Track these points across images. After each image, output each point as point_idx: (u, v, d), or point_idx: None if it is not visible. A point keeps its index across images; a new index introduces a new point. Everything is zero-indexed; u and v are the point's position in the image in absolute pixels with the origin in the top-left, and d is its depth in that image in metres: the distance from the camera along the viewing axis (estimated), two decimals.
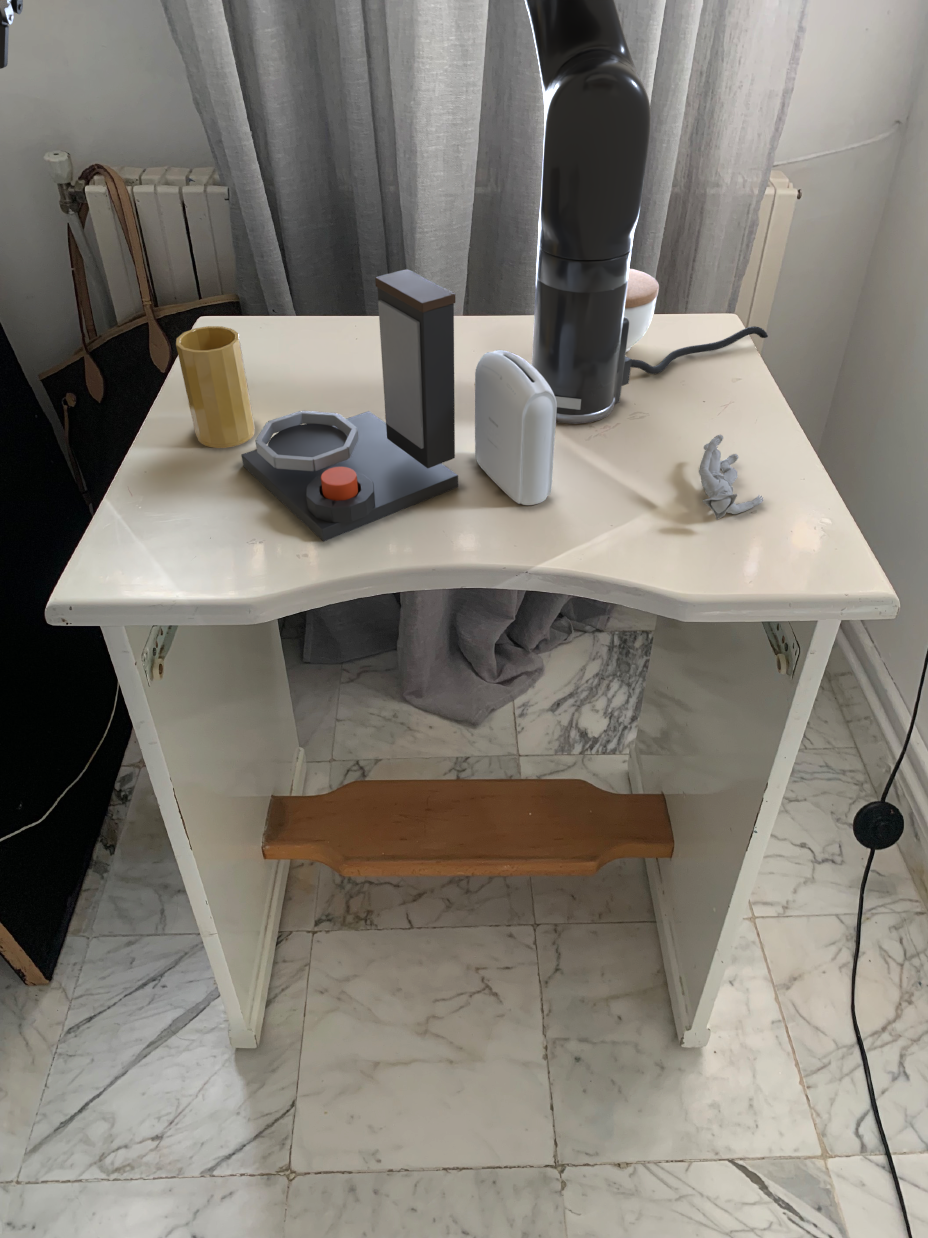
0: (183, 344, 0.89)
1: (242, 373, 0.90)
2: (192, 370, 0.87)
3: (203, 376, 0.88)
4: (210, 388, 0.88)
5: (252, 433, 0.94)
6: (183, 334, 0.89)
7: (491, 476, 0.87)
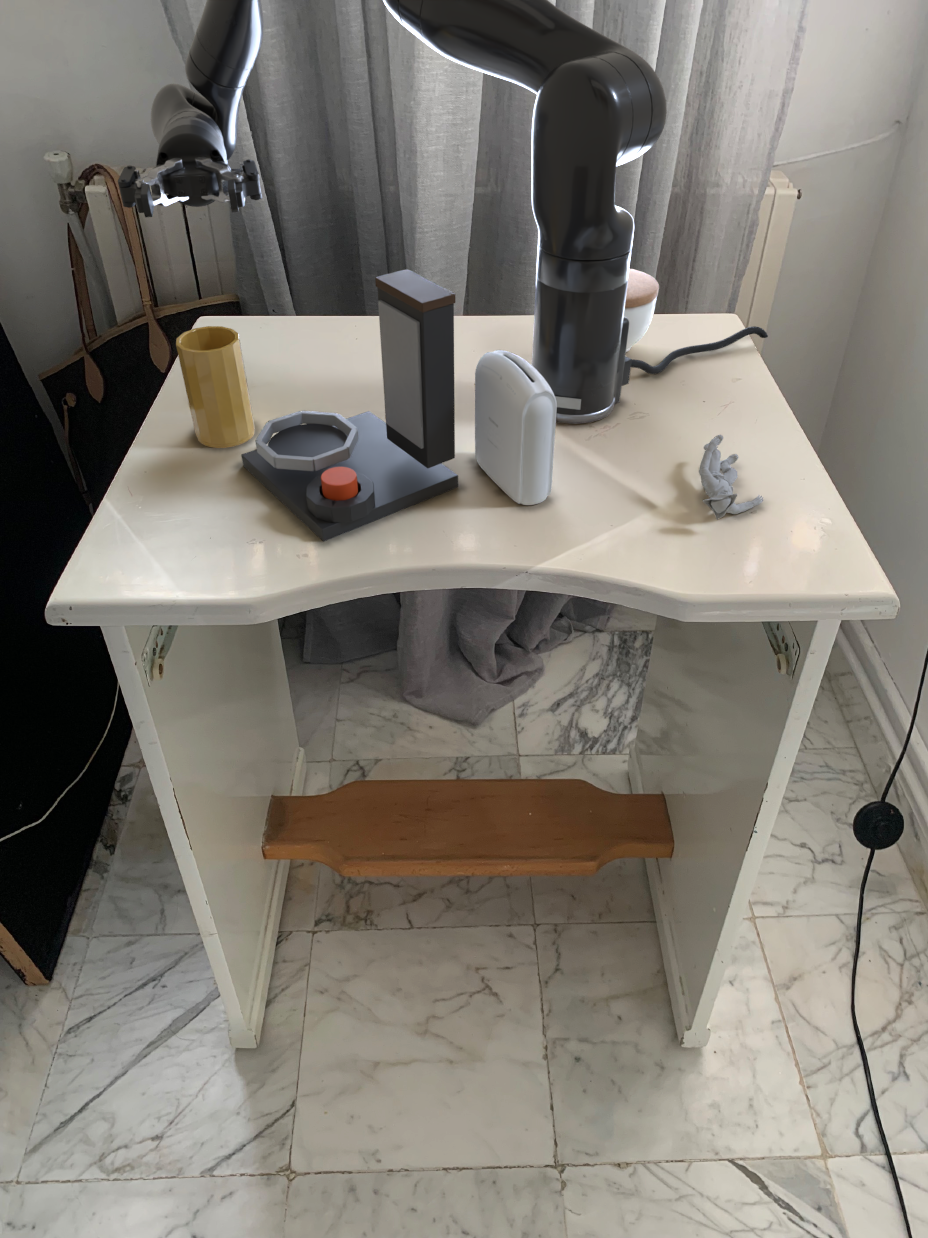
0: (183, 344, 0.89)
1: (242, 373, 0.90)
2: (192, 370, 0.87)
3: (203, 376, 0.88)
4: (210, 388, 0.88)
5: (252, 433, 0.94)
6: (183, 334, 0.89)
7: (491, 476, 0.87)
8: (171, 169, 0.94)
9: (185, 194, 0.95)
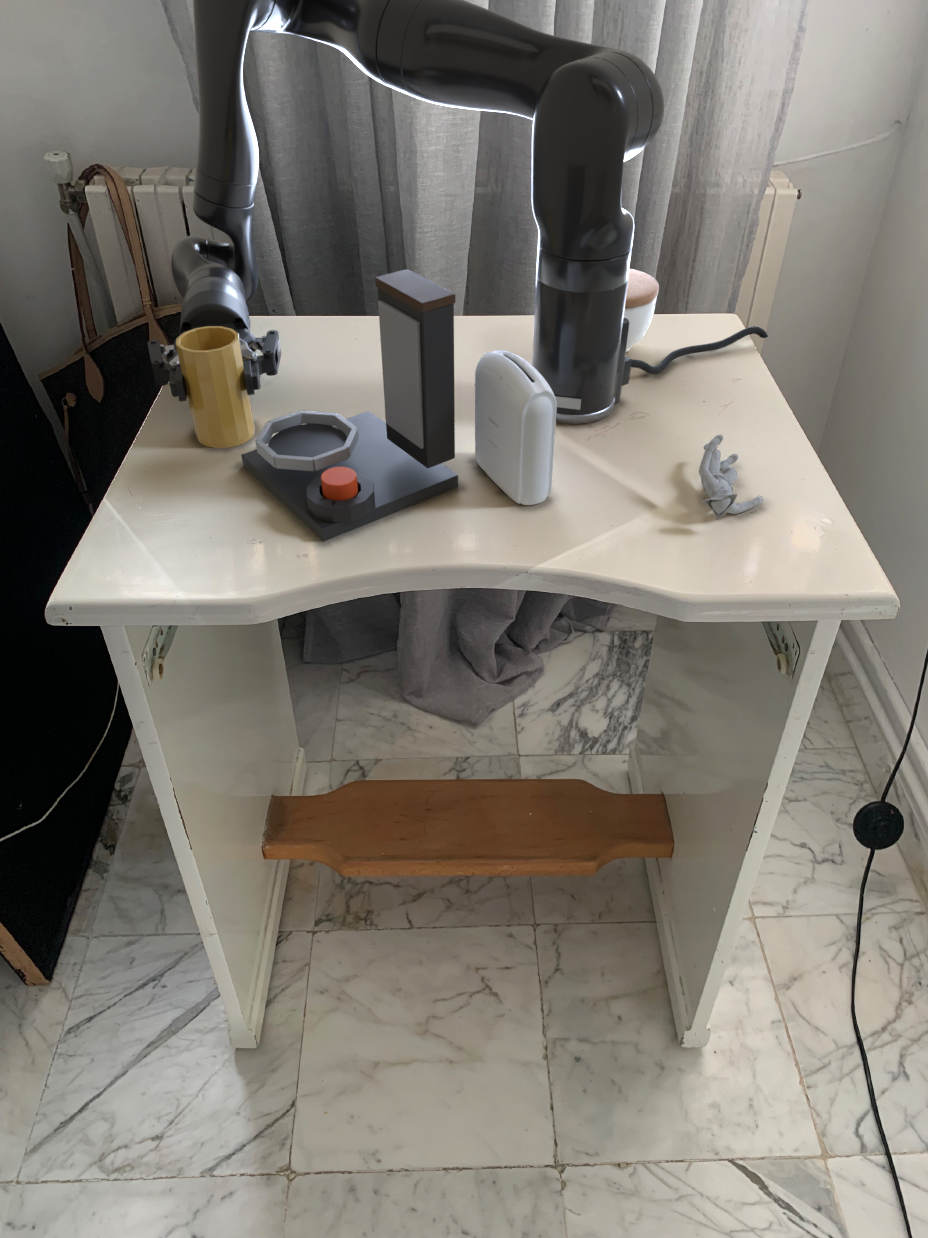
0: (183, 344, 0.89)
1: (242, 373, 0.90)
2: (192, 370, 0.87)
3: (203, 376, 0.88)
4: (210, 388, 0.88)
5: (252, 433, 0.94)
6: (183, 334, 0.89)
7: (491, 476, 0.87)
8: None
9: None
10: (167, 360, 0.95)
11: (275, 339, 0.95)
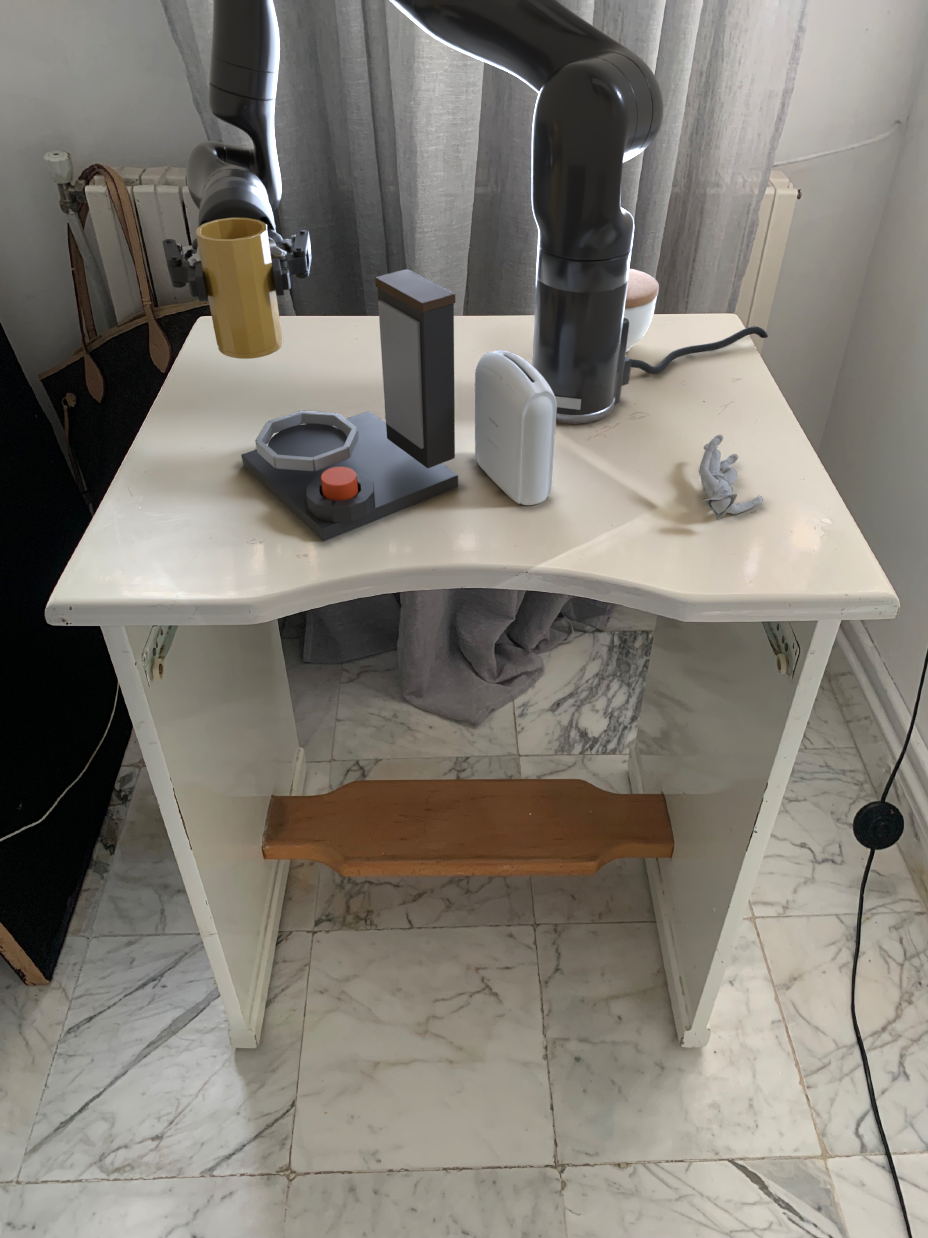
0: (204, 237, 0.78)
1: (270, 270, 0.79)
2: (214, 264, 0.77)
3: (227, 271, 0.77)
4: (234, 285, 0.78)
5: (280, 343, 0.84)
6: (204, 225, 0.78)
7: (491, 476, 0.87)
8: None
9: None
10: (184, 261, 0.84)
11: (306, 238, 0.85)
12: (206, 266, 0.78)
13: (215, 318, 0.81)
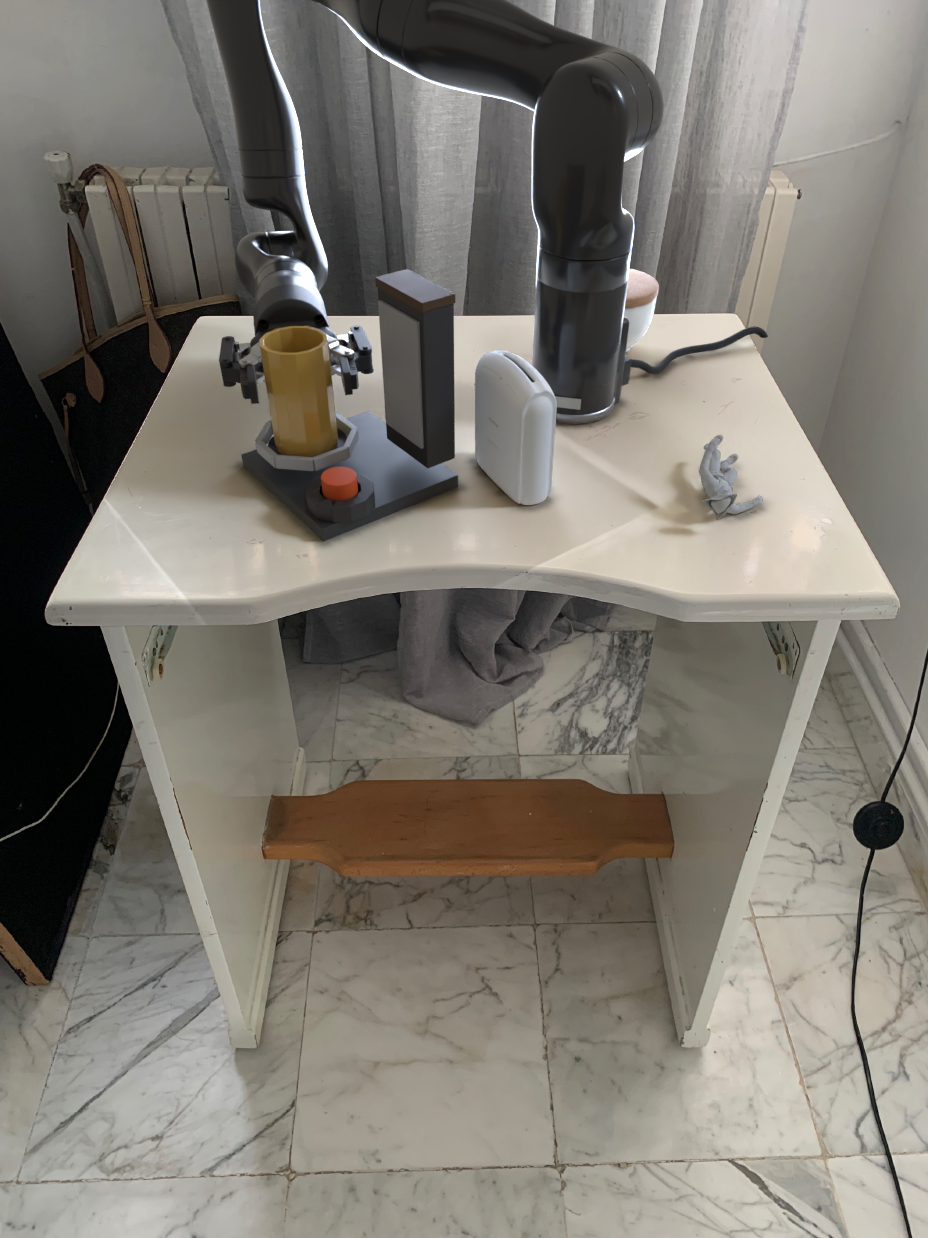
0: (266, 346, 0.81)
1: (329, 377, 0.82)
2: (277, 374, 0.80)
3: (289, 381, 0.80)
4: (296, 394, 0.81)
5: (336, 442, 0.87)
6: (266, 335, 0.81)
7: (491, 476, 0.87)
8: None
9: None
10: (240, 359, 0.87)
11: (364, 334, 0.88)
12: (269, 375, 0.80)
13: (275, 422, 0.84)
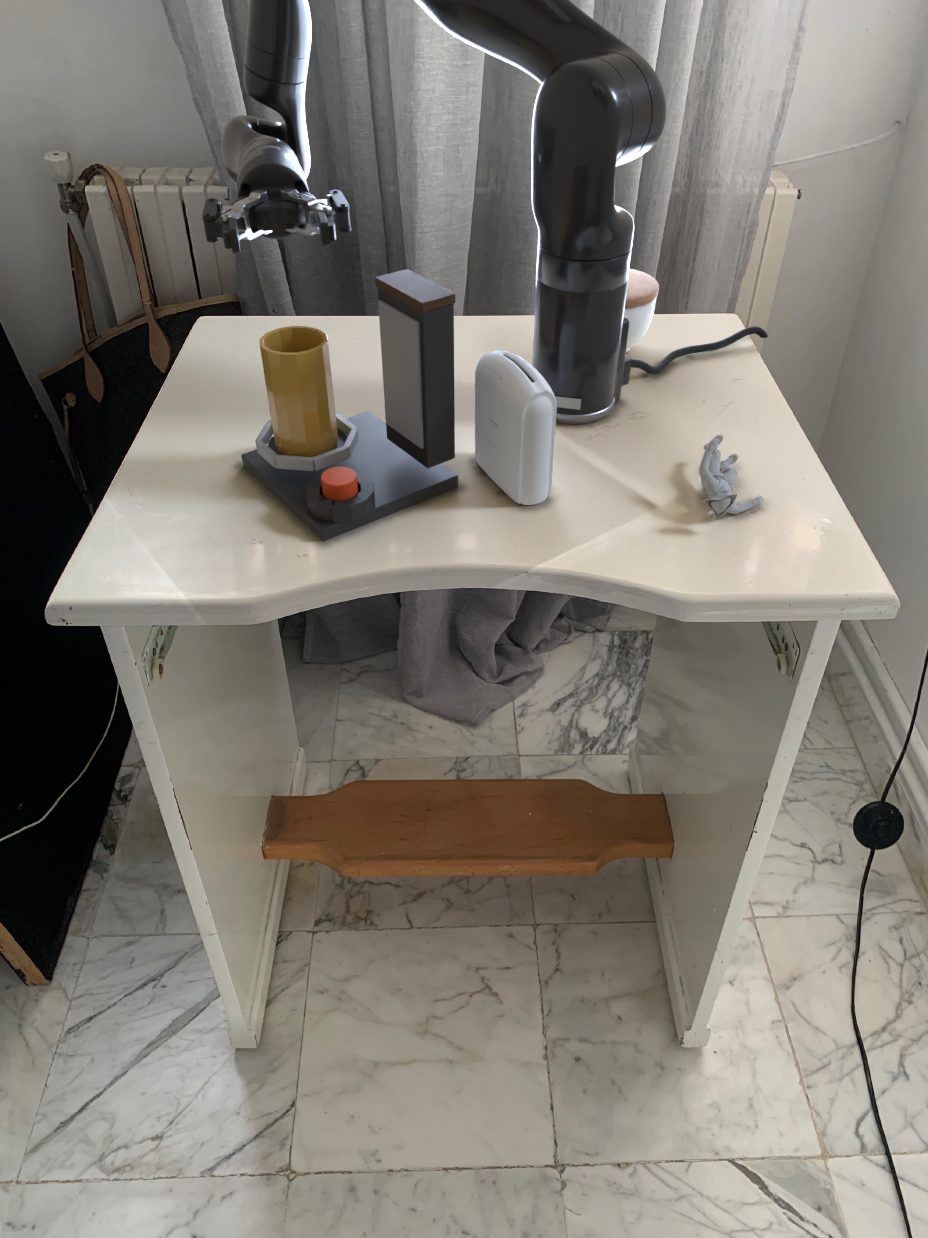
0: (266, 346, 0.81)
1: (329, 377, 0.82)
2: (277, 374, 0.80)
3: (289, 381, 0.80)
4: (296, 394, 0.81)
5: (336, 442, 0.87)
6: (266, 335, 0.81)
7: (491, 476, 0.87)
8: (256, 201, 0.89)
9: (271, 227, 0.90)
10: None
11: (342, 196, 0.91)
12: (269, 375, 0.80)
13: (275, 422, 0.84)
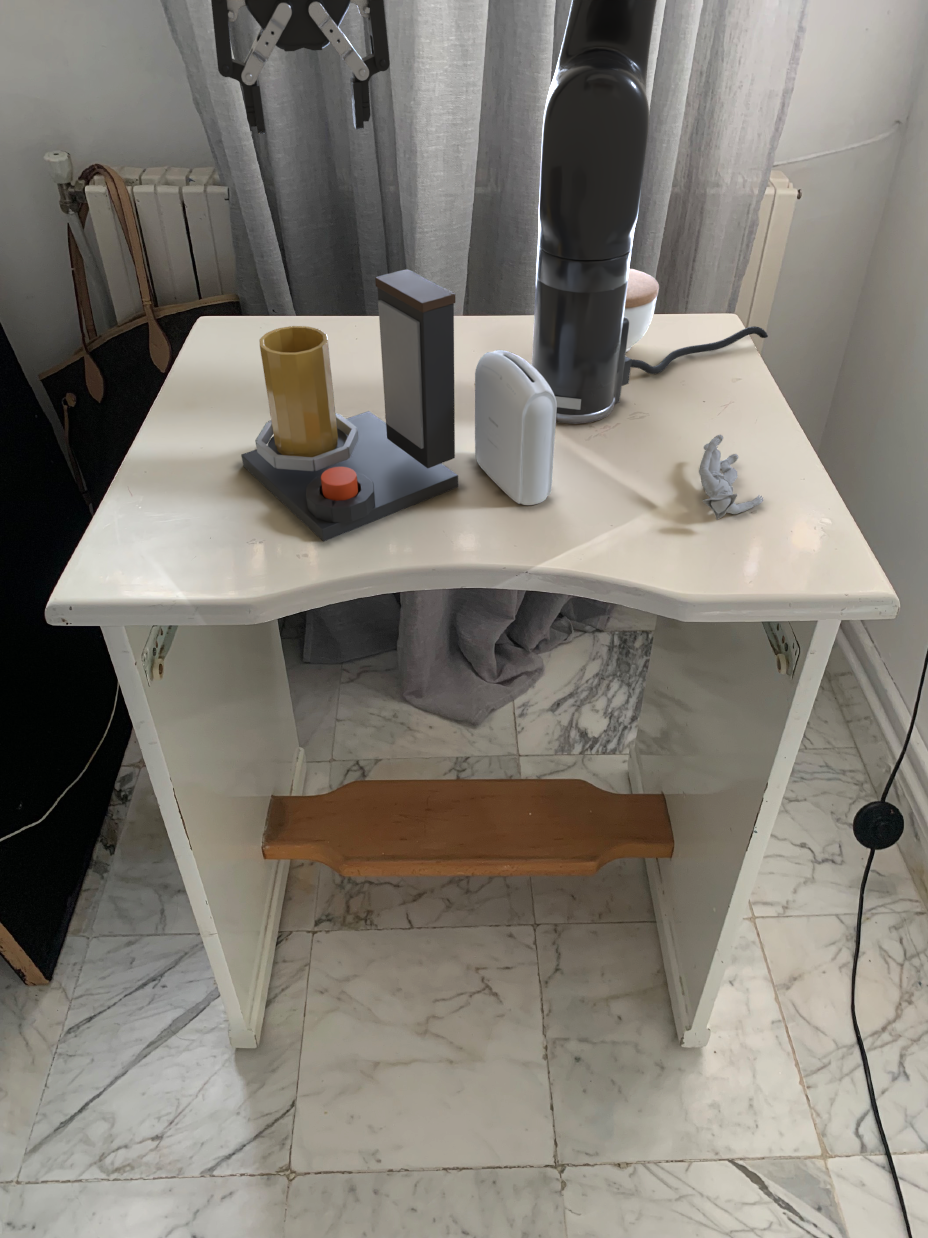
0: (266, 346, 0.81)
1: (329, 377, 0.82)
2: (277, 374, 0.80)
3: (289, 381, 0.80)
4: (296, 394, 0.81)
5: (336, 442, 0.87)
6: (266, 335, 0.81)
7: (491, 476, 0.87)
8: None
9: None
10: None
11: (383, 21, 0.74)
12: (269, 375, 0.80)
13: (275, 422, 0.84)
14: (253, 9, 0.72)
